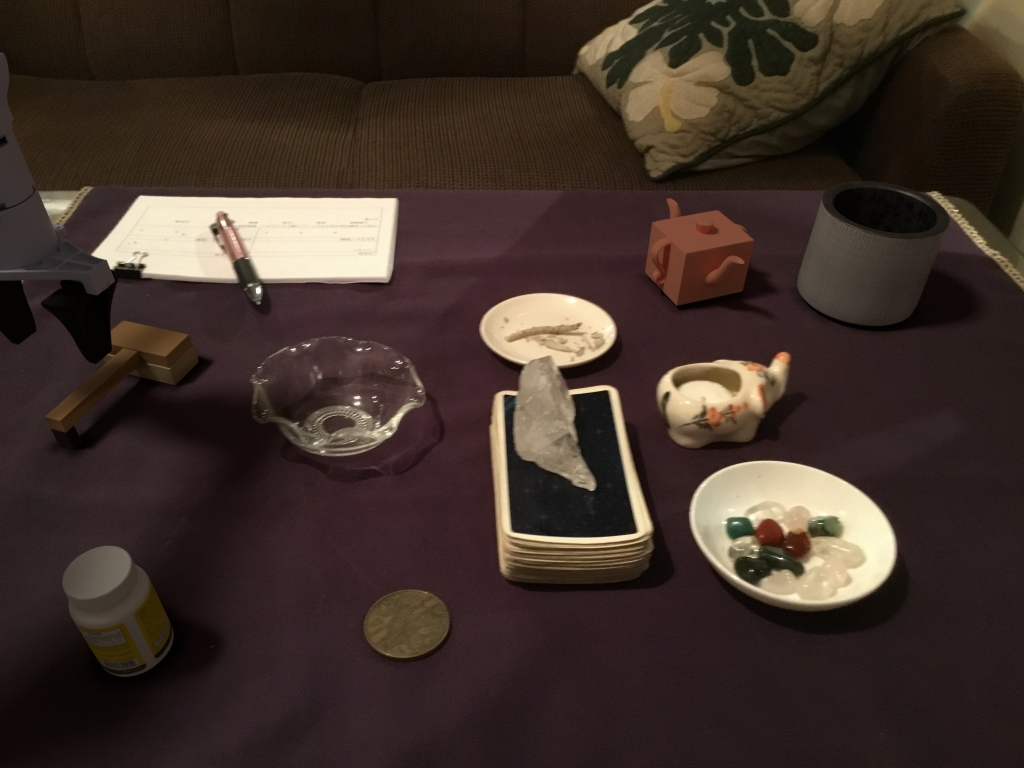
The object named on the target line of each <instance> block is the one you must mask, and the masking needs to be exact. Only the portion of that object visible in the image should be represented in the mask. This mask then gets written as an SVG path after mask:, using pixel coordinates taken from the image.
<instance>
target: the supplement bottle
mask: <svg viewBox="0 0 1024 768" xmlns="http://www.w3.org/2000/svg"><path fill="white" fill-rule="evenodd" d="M61 579H62V580H61V586H62V590H63V592H64V594H65V596H66V598H67V600H68V612H69V615H70V617H71V619H72V621H73V623H74V624H75V626H76V628H77V629H78V631H79V632H80V633H81V636H82V637H83V639H84V640H85V642H86V644H87V645H88V646H89V648H90V649H91V651H92V653H93V654H94V657H95V658H96V660H97V661H98V663H99V664H100V666H101V667H102V669H104V670H105V671H106V672H107V673H108V674H111V675H113V676H116V677H122V678H128V677H129V678H130V677H134V676H135V677H136V676H139V675H141V674H144V673H146V672H147V671H150V670H151V669H152V668H154V667H155V666H156V665H158V664H159V663H160V662H161V661H162V660H163V659H164V658H165V657H166V656H167V655H168V653H169V652H170V651H171V648H172V645H173V642H174V634H175V633H174V629H173V625H172V623H171V621H170V619H169V617H168V614H167V612H166V611H165V608H164V606H163V604H162V602H161V600H160V598H159V596H158V594H157V592H156V590H155V587H154V585H153V583H152V582H151V579H150V577H149V575H148V574H147V572H146V571H145V570H144V569H143V568H142V567H140V566H138V565H137V564H135V562H134V560H133V558H132V556H131V554H130V553H129V552H128V551H127V550H126V549H124V548H122V547H120V546H117V545H116V546H115V545H101V546H98V547H94V548H91V549H89V550H87V551H84V552H83V553H81V554H79V555H78V556H77V557H75V558H74V559H73V560H72V561H71V562H70V563H69V565H68V566H67V567H66V569H65V570H64V572H63V574H62V578H61Z"/></svg>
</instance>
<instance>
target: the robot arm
mask: <svg viewBox="0 0 1024 768" xmlns="http://www.w3.org/2000/svg"><path fill="white" fill-rule="evenodd" d="M9 70H10V69H9V64H8V60H7V58H6V54H5V53H4V52H0V332H1V334H2V335H3V336H4V337H5V338H6V339H7V340H8V341H9V342H10V343H11V344H13V345H17V346H19V345H21V344H22V343H23V342H24V341H26V340H27V339H28V338H29V337H31V336H33V334H35V333H36V332H37V325H36V319H35V317H34V314H33V312H32V309H31V306H30V304H29V301H28V299H27V296H26V293H25V290H24V286H23V281H58V283H59V285H60V287H61V288H58V289H56V290H55V291H54V292H52V293H51V294H50V295H48V296H47V297H46V298H44V299H43V300H41V301H40V305H41V307H42V308H44V309H45V310H46V311H48V312H49V313H50V314H51V315H53V316H54V317H55V318H56V319H57V320H58V321H59V322H60V323H61V324H62V326H64V328H65V330H67V332H68V333H69V334H70V336H71V338H72V339H73V341H74V343H75V345H76V347H77V348H78V350H79V352H80V353H81V355H82V357H84V359H85V360H86V361H87V362H88V363H90V364H93V365H96V364H98V363H100V362H101V361H102V360H104V357H105V356H106V355H107V354H109V353H110V352H111V351H112V341H111V330H112V329H111V314H112V305H113V299H114V296H115V292H116V288H117V285H118V283H119V277H118V275H117V273H116V271H115V270H114V269H111V267H110V265H109V262H108V259H104V258H101V257H97V256H95V255H92V254H90V253H88V252H87V251H86V250H84V249H82V248H81V247H79V246H78V245H76V244H74V243H72V241H70V240H68V239H66V238H65V237H66V236H67V235H68V232H67V229H66V227H65V226H64V225H62V224H58V223H53V222H52V221H51V218H50V215H49V213H48V211H47V208H46V206H45V204H44V201H43V199H42V197H41V194H40V191H39V190H38V187H37V184H36V182H35V180H34V178H33V175H32V173H31V170H30V168H29V165H28V164H27V161H26V158H25V156H24V153H23V151H22V149H21V147H20V144H19V141H18V140H17V137H16V134H15V133H14V129H13V126H14V125H13V123H12V122H13V121H15V120H14V119H15V118H14V116H13V114H12V111H11V109H10V106H9V103H8V90H9V86H10V71H9Z"/></svg>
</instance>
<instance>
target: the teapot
mask: <svg viewBox="0 0 1024 768" xmlns="http://www.w3.org/2000/svg"><path fill="white" fill-rule="evenodd" d="M666 204H667V206H668V209H669V218H665V219H660V220H656V221H652V222H651V227H650V235H649V242H648V248H647V255H646V263H645V271H644V273H645V274H646V275H647V276H648V277H649V279H650V280H651V281H652V282H653V283H654V284H656V286H657V287H658V288H659V289H660V290H661V291H662V292H663V293H664V295H666V296H667V297H668V299H669V300H670V301H671V302H672V303H673V304H674V305H675V306H677V307H678V306H682V305H687V304H692V303H696V302H700V301H705V300H708V299H714V298H719V297H723V296H728V295H732V294H738V293H740V292H743V291H744V286H745V282H746V280H747V279H746V278H747V274H748V271H749V266H750V262H751V258H752V254H753V250H754V245H755V239H754V238H753V237H751V236H750V235H749V232H748V230H747V228H745V227H744V226H743V225H741V224H737V223H734V221H732V220H731V219H729V218H728V217H727V216H725V214H723V213H722V212H721V211H720V210H718V209H717V210H709V211H705V212H698V213H693V214H688V215H682V213H681V209H680V206H679V204H678V202H677V201H675V200H674V199H673V198H669V197H668V198H666Z"/></svg>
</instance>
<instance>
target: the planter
mask: <svg viewBox="0 0 1024 768" xmlns="http://www.w3.org/2000/svg"><path fill="white" fill-rule="evenodd" d="M950 223H951V218H950V215H949V213H948V211H947V210H946V209H945V207H943V206H942V205H941V204H940V203H939V202H938V201H936V200H935V199H933V198H931V197H929V196H928V195H925V194H923V193H921V192H920V191H916V190H914V189H911V188H908V187H905V186H902V185H898V184H893V183H887V182H881V181H872V180H869V181H868V180H857V181H856V180H855V181H848V182H842V183H838V184H835V185H833V186H831V187H829V188H828V189H827V190H825V191H824V192H823V194H822V197H821V200H820V204H819V207H818V211H817V214H816V217H815V220H814V224H813V227H812V230H811V232H810V237H809V240H808V243H807V246H806V249H805V253H804V256H803V259H802V262H801V265H800V268H799V271H798V274H797V282H796V286H797V290H798V292H799V295H800V296H801V298H803V300H804V301H805V302H806V303H807V304H808V305H809V306H810V307H812V308H813V309H814V310H816V311H818V312H819V313H821V314H822V315H824V316H826V317H828V318H831V319H833V320H836V321H838V322H841V323H845V324H849V325H854V326H859V327H883V326H885V327H886V326H890V325H891V326H892V325H894V324H895V325H896V324H898V323H901V322H904V321H905V320H907V319H908V318H909V317H911V315H912V314H913V313H914V312H915V309H916V308H917V306H918V303H919V301H920V299H921V297H922V294H923V292H924V288H925V286H926V283H927V281H928V278H929V276H930V273H931V270H932V268H933V266H934V264H935V261H936V258H937V256H938V253H939V251H940V249H941V245H942V244H943V240H944V238H945V236H946V234H947V232H948V229H949V226H950Z"/></svg>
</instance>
